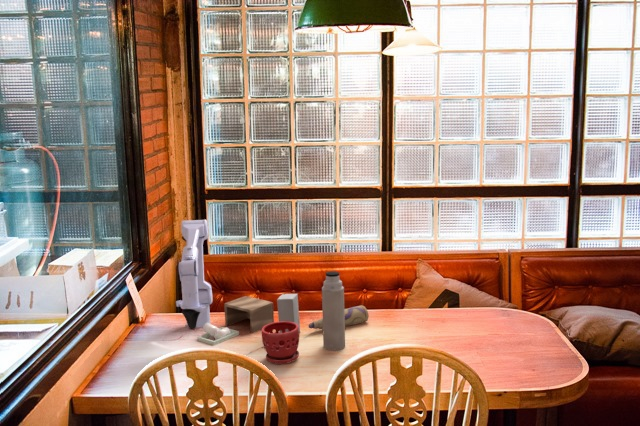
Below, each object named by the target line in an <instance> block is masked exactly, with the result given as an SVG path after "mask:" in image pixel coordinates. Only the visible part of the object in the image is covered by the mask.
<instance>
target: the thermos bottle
mask: <svg viewBox="0 0 640 426" xmlns="http://www.w3.org/2000/svg"><path fill="white" fill-rule="evenodd" d="M321 305H322V306H321V308H322V309H321V310H322V318H323V328H322V335H323V336H322V337H323V348H324V349H325V350H328V351H340V350H344V348H346V328H345V327H346V326H345V315H344V309H345V286H343V281H342V280H341V279H340V272H339V271H335V270H333V271H332V270H331V271H326V272H325V280H324V281H323V286H322V287H321Z"/></svg>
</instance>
